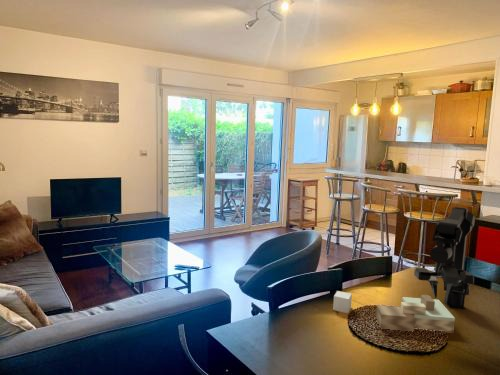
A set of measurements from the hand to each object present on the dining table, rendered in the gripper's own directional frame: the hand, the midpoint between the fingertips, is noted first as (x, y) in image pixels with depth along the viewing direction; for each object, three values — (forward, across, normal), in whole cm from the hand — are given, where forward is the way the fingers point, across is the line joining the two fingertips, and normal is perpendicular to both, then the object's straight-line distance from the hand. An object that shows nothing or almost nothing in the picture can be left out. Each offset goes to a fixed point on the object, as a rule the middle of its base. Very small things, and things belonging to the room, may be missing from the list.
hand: (441, 298), depth 137 cm
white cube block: (+12, -34, +11) cm, 37 cm away
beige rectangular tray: (+12, -8, +5) cm, 16 cm away
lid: (+8, -2, +6) cm, 11 cm away
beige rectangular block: (+6, -10, 0) cm, 11 cm away
